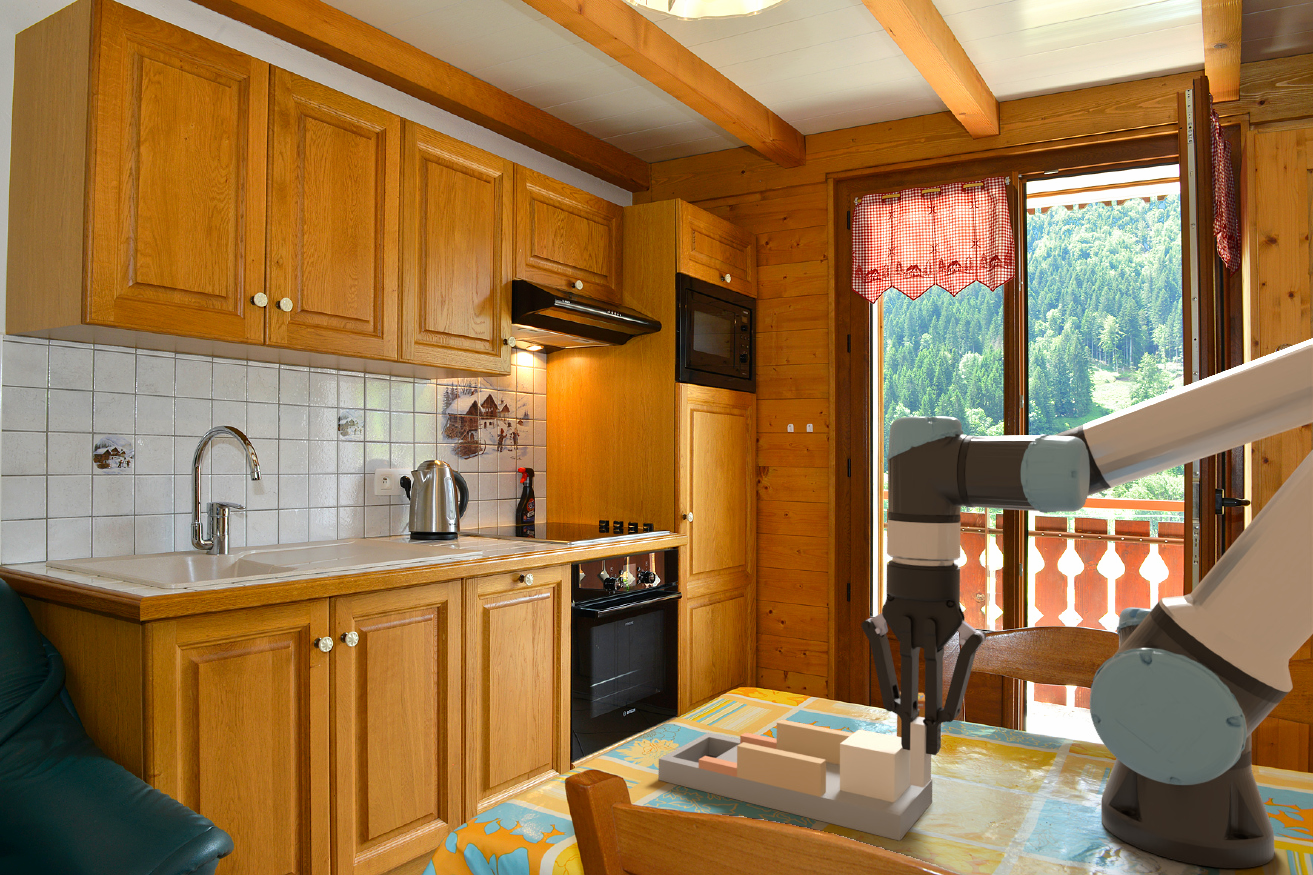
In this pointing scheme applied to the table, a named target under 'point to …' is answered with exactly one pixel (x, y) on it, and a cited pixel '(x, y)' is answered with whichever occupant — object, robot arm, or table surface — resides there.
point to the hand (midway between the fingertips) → (920, 781)
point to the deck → (790, 778)
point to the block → (874, 765)
